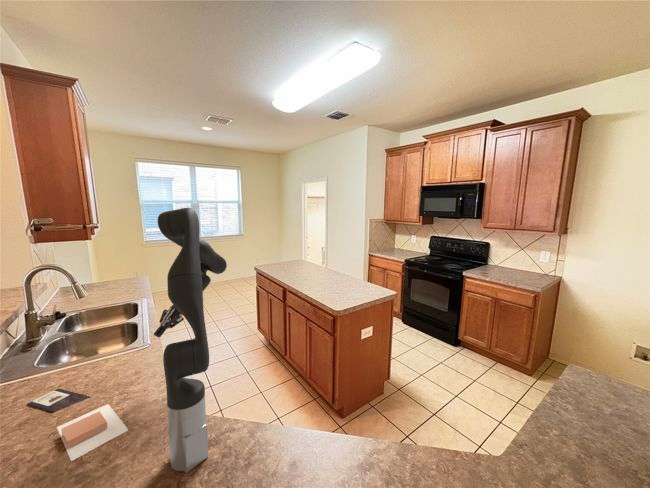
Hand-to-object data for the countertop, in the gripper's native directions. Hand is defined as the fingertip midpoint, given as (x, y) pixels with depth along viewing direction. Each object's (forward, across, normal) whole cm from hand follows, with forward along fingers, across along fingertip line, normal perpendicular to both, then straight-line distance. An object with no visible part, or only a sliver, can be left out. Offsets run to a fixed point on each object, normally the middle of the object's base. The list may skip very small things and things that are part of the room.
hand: (156, 336), depth 95 cm
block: (+27, 0, +4) cm, 27 cm away
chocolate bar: (+33, -28, +1) cm, 44 cm away
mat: (+31, 0, +3) cm, 31 cm away
